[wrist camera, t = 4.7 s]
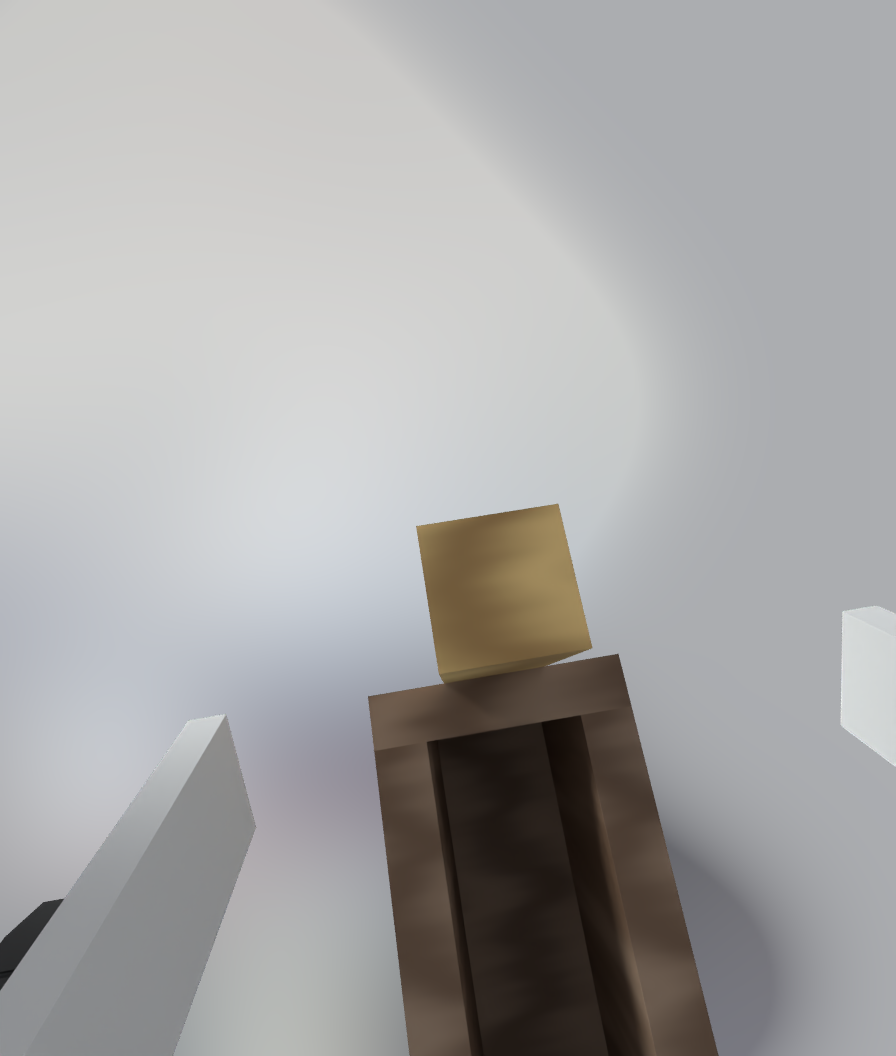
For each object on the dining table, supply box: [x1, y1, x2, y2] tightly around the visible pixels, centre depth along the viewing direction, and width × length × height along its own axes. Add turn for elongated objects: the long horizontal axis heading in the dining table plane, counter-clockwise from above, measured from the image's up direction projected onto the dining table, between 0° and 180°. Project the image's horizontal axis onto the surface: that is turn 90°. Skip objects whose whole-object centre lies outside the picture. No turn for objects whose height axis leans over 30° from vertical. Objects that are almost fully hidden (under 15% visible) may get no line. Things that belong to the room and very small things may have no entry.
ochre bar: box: [416, 504, 592, 684], centre depth 25 cm, size 4×22×4 cm, turn 179°
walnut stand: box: [368, 654, 718, 1056], centre depth 23 cm, size 10×12×30 cm
